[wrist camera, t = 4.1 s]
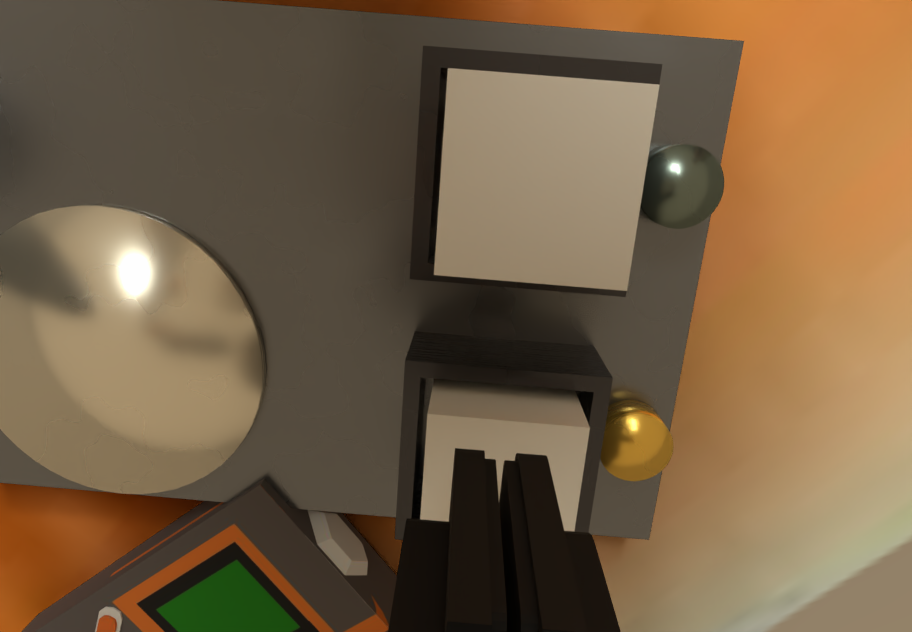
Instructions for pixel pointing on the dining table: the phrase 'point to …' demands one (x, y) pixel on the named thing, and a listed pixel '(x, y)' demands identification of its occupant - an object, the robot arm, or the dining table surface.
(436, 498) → the white cube
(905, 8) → the dining table surface
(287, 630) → the electronic device
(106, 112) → the breaker board
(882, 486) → the dining table surface
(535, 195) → the block
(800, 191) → the dining table surface
